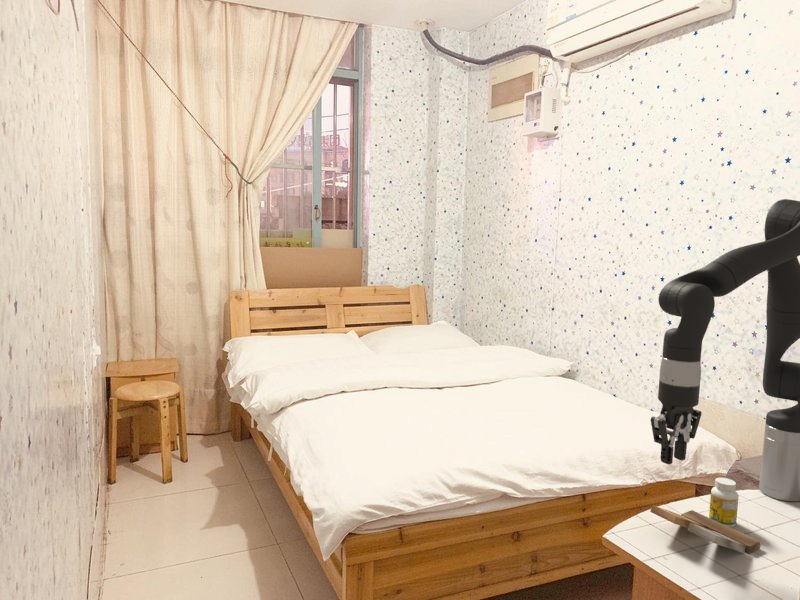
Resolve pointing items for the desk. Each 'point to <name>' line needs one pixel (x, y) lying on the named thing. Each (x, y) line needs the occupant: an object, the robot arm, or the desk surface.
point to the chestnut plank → (674, 517)
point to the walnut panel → (724, 530)
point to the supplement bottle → (724, 502)
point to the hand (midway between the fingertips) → (673, 460)
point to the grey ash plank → (716, 538)
